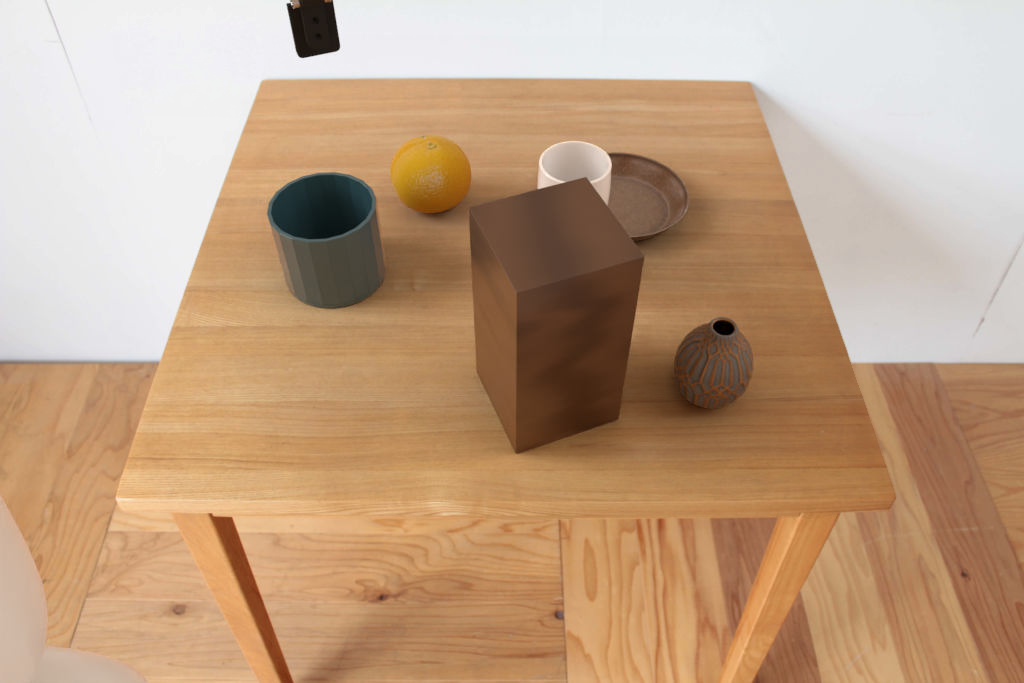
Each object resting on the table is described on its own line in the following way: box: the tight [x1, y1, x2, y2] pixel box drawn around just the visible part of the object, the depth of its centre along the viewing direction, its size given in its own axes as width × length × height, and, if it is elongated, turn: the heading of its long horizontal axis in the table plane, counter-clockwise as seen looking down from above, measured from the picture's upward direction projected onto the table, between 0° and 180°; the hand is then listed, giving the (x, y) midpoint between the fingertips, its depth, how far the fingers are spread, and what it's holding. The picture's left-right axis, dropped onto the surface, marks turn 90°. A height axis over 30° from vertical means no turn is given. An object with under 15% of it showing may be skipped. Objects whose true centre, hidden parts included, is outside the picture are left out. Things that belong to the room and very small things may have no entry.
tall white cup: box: [536, 140, 612, 206], centre depth 83 cm, size 7×7×15 cm
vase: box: [672, 316, 755, 409], centre depth 76 cm, size 7×7×9 cm
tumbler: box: [266, 171, 387, 309], centre depth 86 cm, size 10×10×9 cm
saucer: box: [606, 151, 690, 242], centre depth 95 cm, size 15×15×3 cm
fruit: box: [389, 134, 472, 214], centre depth 94 cm, size 9×8×8 cm
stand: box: [468, 177, 645, 455], centre depth 71 cm, size 10×10×20 cm
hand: (303, 22), depth 66 cm, fingers open, 9 cm apart
